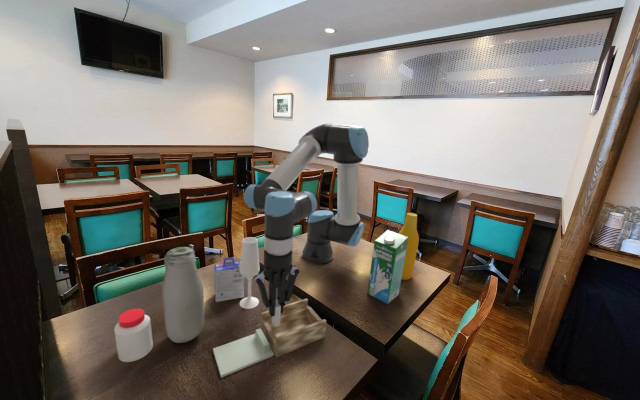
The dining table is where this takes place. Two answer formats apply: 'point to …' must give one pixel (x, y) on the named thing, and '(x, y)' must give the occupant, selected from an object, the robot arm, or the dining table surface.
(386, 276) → the milk carton
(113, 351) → the dining table surface
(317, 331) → the box
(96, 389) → the dining table surface
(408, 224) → the beer bottle
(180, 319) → the glass bottle
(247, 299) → the champagne flute
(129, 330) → the pill bottle
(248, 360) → the lid
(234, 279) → the ink cartridge box
